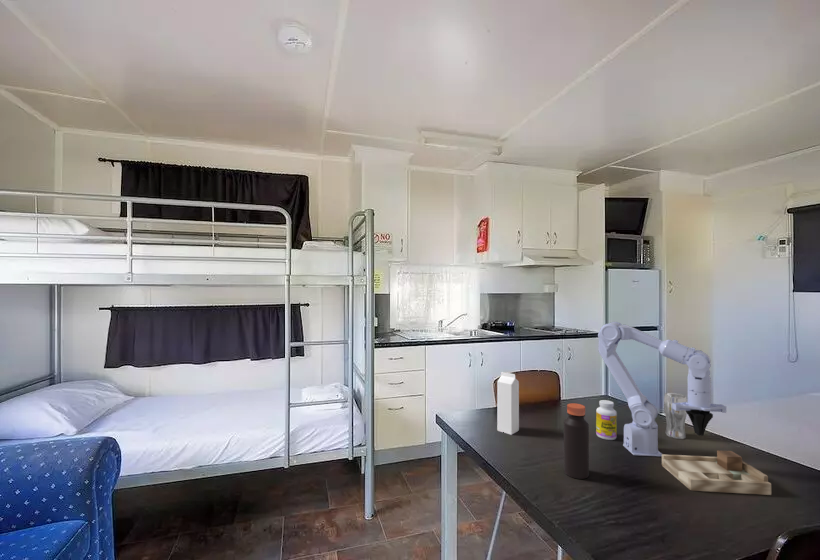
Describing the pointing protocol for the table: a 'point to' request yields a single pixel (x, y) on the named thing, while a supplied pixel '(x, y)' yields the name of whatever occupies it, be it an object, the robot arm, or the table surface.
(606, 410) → the supplement bottle
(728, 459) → the walnut block
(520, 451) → the table surface
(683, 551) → the table surface
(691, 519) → the table surface
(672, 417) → the beer glass
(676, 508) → the table surface
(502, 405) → the milk
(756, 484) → the tray
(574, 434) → the vinegar
